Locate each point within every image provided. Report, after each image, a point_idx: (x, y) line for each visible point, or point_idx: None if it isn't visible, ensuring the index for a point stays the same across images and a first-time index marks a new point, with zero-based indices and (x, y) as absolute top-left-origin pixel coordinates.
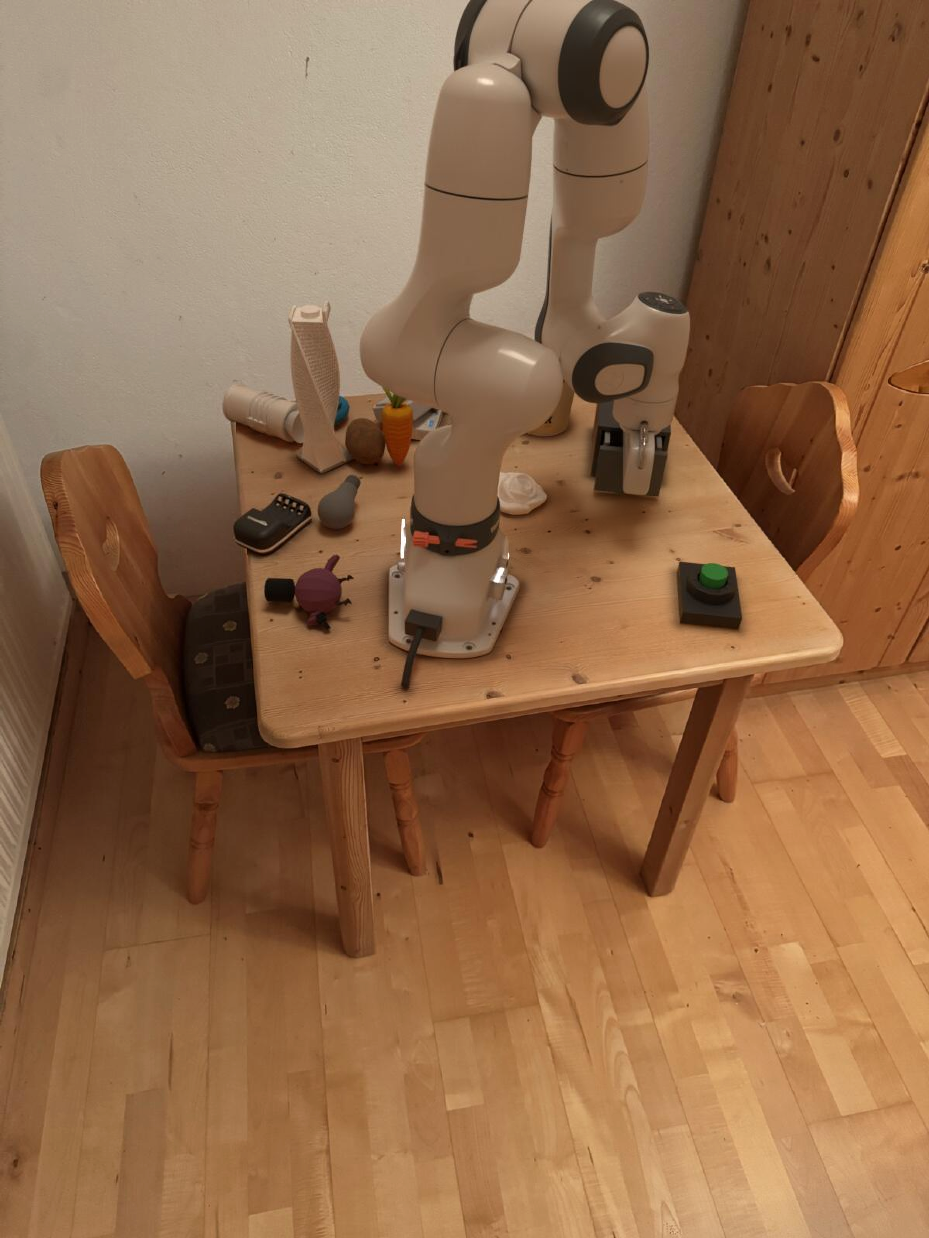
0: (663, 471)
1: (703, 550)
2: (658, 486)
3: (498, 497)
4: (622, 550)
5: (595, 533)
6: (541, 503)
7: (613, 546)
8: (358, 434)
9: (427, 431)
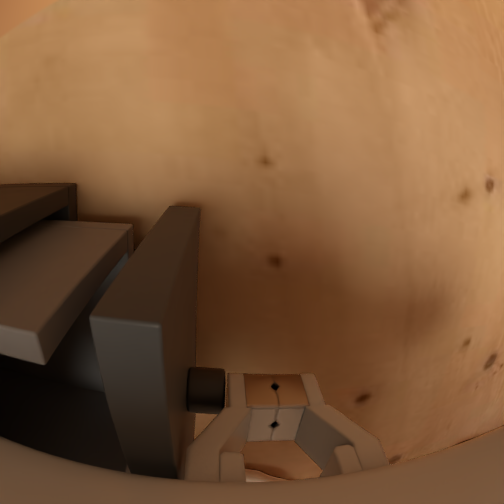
0: (184, 258)
1: (462, 99)
2: (194, 232)
3: None
4: (441, 324)
5: (371, 384)
6: (270, 478)
7: (424, 344)
8: None
9: None
